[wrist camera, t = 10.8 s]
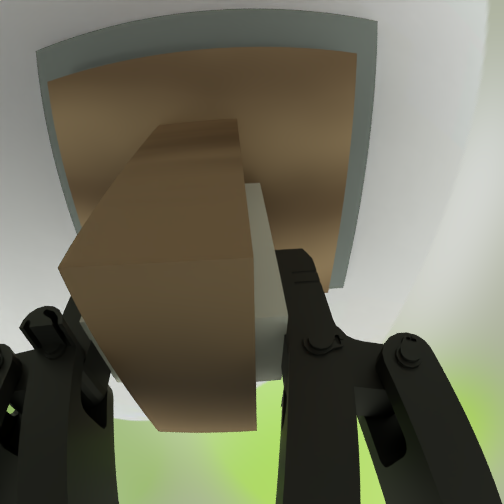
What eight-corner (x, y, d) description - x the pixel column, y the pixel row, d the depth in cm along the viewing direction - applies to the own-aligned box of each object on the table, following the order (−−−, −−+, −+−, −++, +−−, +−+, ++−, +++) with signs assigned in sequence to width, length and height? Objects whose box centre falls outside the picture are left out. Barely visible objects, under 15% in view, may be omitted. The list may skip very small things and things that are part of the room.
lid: (59, 78, 10) (-119, 167, 2) (346, 52, 11) (538, 99, 3) (115, 289, 18) (75, 442, 10) (323, 278, 19) (372, 435, 11)
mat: (41, 50, 11) (36, 51, 10) (372, 21, 11) (377, 21, 11) (105, 294, 21) (103, 300, 20) (340, 281, 22) (343, 287, 21)
